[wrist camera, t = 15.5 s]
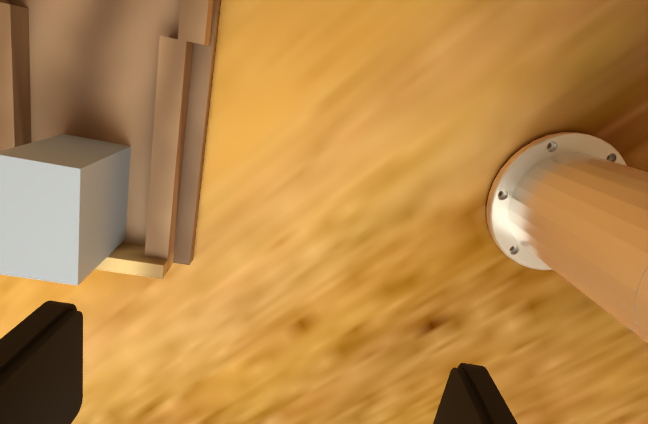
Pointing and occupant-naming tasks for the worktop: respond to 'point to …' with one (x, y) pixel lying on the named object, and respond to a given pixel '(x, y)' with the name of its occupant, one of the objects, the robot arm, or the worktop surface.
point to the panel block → (62, 207)
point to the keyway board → (119, 103)
